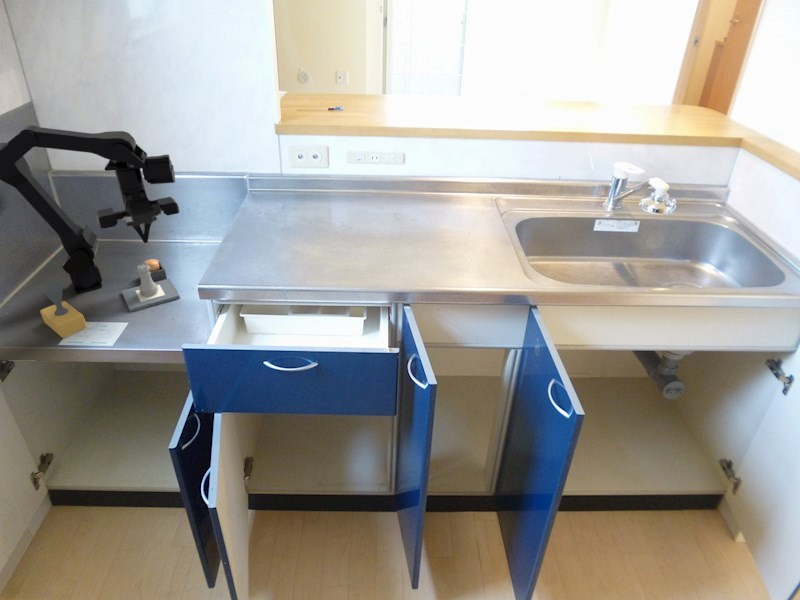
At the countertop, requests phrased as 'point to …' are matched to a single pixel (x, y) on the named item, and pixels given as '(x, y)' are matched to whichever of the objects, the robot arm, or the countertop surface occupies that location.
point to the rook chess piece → (146, 281)
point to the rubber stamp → (61, 312)
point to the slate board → (139, 301)
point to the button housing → (159, 274)
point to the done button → (153, 265)
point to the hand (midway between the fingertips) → (145, 242)
